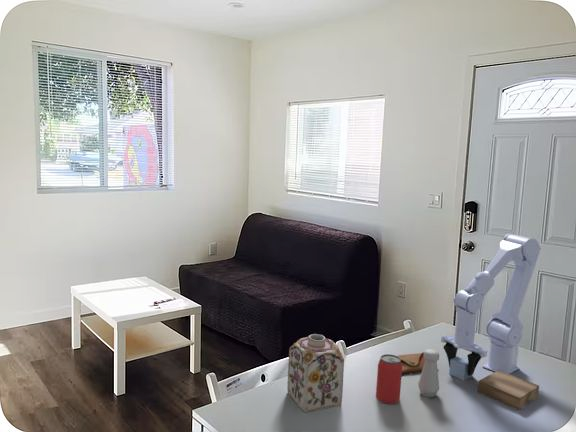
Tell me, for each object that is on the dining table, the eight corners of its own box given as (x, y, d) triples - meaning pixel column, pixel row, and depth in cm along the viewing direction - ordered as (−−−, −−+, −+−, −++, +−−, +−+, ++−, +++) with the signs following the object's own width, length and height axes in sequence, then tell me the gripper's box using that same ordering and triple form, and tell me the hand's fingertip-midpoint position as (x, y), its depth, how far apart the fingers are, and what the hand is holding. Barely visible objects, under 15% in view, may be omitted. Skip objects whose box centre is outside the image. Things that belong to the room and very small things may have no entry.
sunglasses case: (392, 377, 148) (388, 355, 151) (381, 379, 154) (377, 358, 157) (440, 370, 155) (435, 349, 157) (428, 372, 161) (423, 352, 163)
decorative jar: (286, 392, 137) (288, 331, 134) (322, 385, 141) (325, 326, 139) (304, 414, 126) (307, 348, 124) (343, 406, 131) (346, 342, 128)
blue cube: (457, 370, 156) (459, 355, 155) (472, 376, 152) (473, 361, 151) (449, 374, 152) (450, 359, 152) (463, 380, 149) (465, 365, 148)
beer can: (385, 407, 131) (388, 365, 129) (370, 395, 137) (373, 355, 135) (404, 402, 134) (407, 361, 132) (389, 391, 140) (392, 351, 138)
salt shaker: (439, 400, 136) (443, 356, 134) (418, 397, 137) (422, 353, 135) (437, 390, 142) (441, 348, 140) (417, 387, 143) (420, 345, 141)
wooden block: (497, 382, 149) (498, 369, 148) (537, 398, 140) (539, 385, 139) (477, 393, 141) (478, 380, 141) (518, 411, 132) (519, 398, 132)
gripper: (437, 324, 153) (433, 365, 155) (480, 339, 142) (475, 383, 144) (449, 320, 157) (446, 359, 159) (492, 334, 146) (487, 376, 148)
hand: (461, 370), depth 152 cm, fingers open, 6 cm apart
